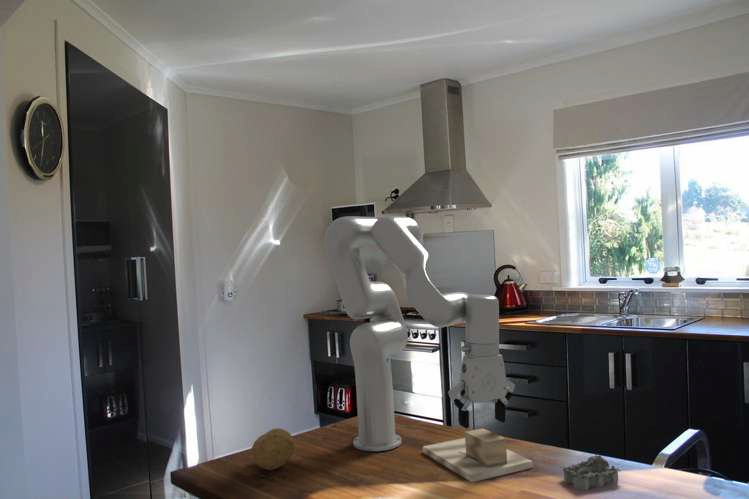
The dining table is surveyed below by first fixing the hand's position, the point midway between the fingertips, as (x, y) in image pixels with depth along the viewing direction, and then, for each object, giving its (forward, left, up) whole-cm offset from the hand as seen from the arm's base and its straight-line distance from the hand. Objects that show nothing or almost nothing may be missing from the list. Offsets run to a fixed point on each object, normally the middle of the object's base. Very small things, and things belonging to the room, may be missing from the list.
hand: (482, 423), depth 135 cm
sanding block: (+1, 0, -8) cm, 8 cm away
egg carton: (+19, +13, -10) cm, 25 cm away
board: (-4, 0, -9) cm, 10 cm away
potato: (-25, -43, -10) cm, 51 cm away
